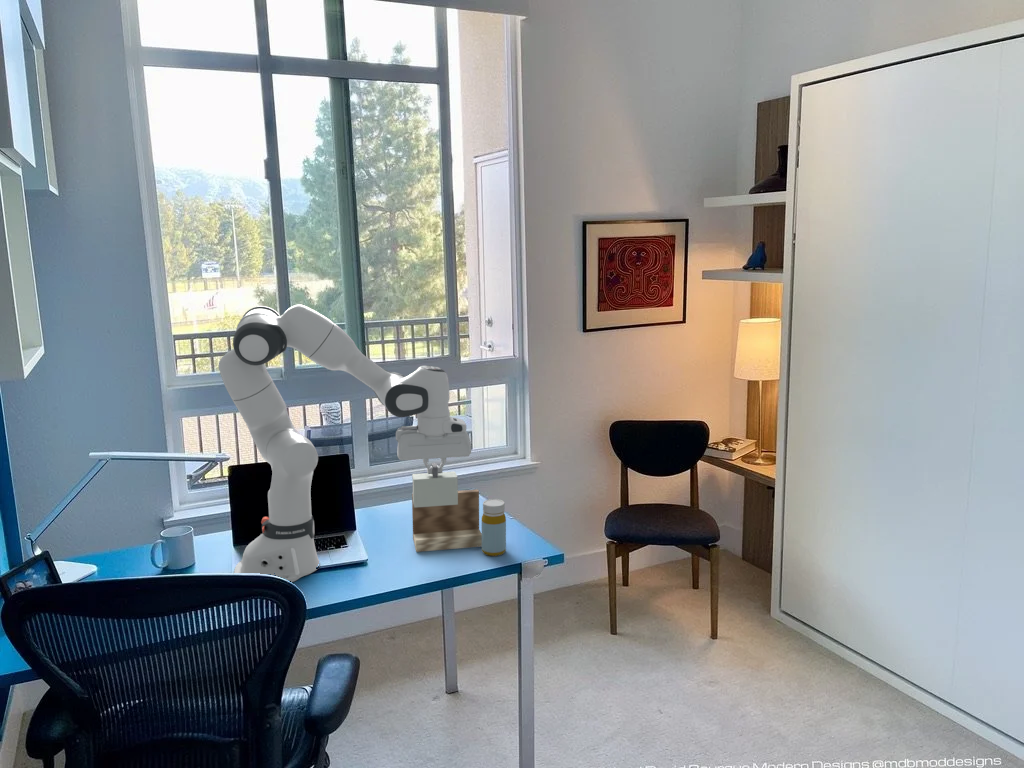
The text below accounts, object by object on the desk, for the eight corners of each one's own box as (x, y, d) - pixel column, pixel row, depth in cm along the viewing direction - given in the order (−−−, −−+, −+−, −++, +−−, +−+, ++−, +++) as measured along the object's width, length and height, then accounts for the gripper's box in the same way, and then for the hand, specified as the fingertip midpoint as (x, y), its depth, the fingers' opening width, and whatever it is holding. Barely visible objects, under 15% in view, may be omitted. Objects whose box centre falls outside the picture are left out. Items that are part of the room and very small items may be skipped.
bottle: (484, 558, 215) (484, 507, 212) (479, 548, 222) (479, 499, 219) (508, 555, 217) (508, 505, 214) (502, 545, 223) (502, 497, 220)
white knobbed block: (414, 507, 207) (413, 469, 205) (413, 501, 212) (412, 463, 210) (457, 504, 210) (457, 466, 208) (455, 498, 215) (455, 461, 212)
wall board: (416, 551, 219) (415, 506, 216) (412, 537, 229) (411, 493, 226) (484, 546, 223) (484, 501, 220) (478, 532, 233) (477, 489, 230)
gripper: (395, 429, 201) (397, 479, 204) (472, 425, 206) (472, 474, 208) (394, 423, 208) (396, 472, 210) (468, 420, 212) (469, 467, 214)
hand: (434, 473), depth 209 cm, fingers closed on white knobbed block
